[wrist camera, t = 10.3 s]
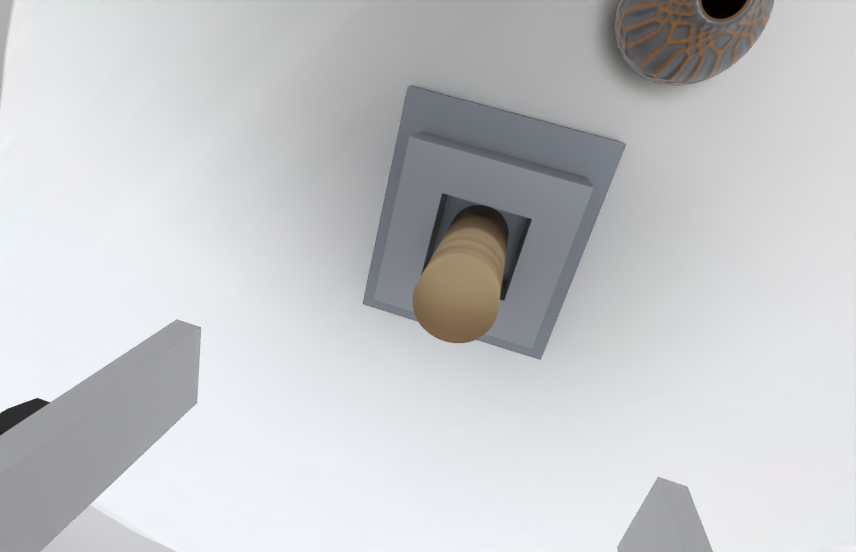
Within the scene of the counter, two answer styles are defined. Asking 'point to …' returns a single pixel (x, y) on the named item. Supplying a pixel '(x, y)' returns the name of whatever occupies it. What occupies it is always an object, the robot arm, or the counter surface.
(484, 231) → the peg
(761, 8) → the vase
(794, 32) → the counter surface
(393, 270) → the socket
